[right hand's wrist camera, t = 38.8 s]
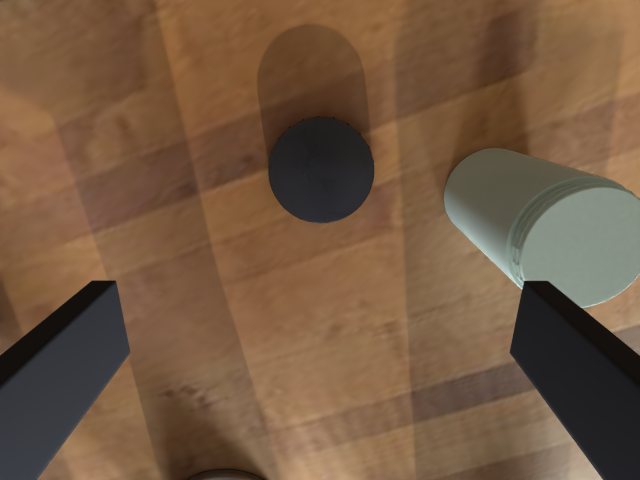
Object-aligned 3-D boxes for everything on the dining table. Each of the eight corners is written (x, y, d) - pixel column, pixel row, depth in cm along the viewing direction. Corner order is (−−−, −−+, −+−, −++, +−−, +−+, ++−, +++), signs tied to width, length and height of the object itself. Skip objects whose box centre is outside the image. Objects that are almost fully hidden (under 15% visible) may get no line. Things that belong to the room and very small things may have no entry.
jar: (425, 201, 38) (486, 263, 24) (489, 128, 36) (598, 150, 22) (487, 251, 40) (578, 335, 26) (552, 184, 38) (690, 238, 24)
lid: (393, 170, 37) (396, 173, 36) (319, 238, 40) (319, 243, 38) (322, 92, 35) (323, 92, 33) (248, 169, 37) (245, 172, 36)
